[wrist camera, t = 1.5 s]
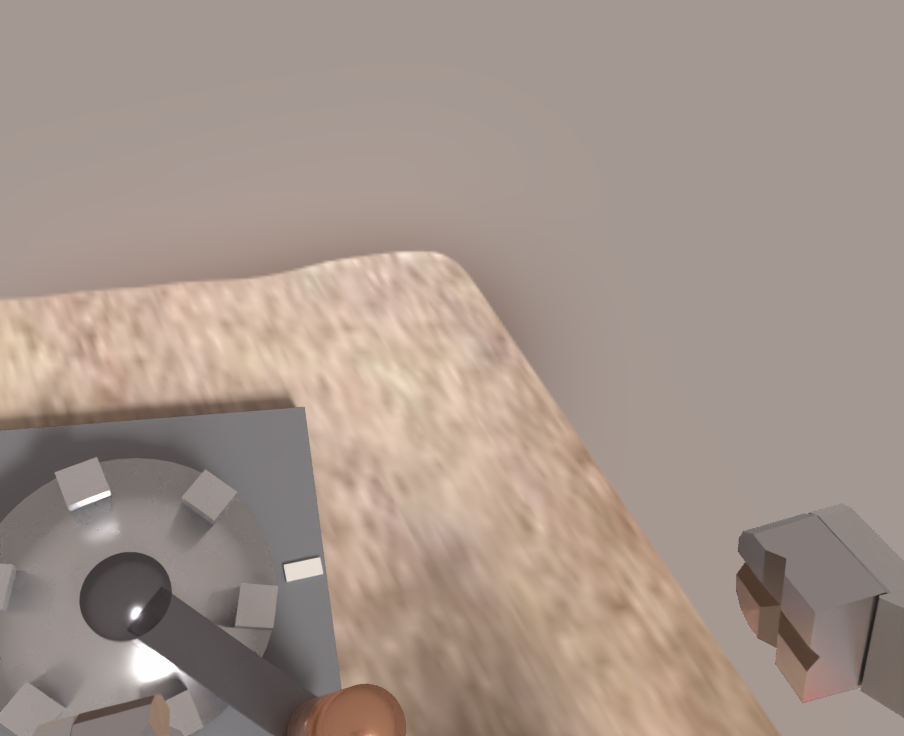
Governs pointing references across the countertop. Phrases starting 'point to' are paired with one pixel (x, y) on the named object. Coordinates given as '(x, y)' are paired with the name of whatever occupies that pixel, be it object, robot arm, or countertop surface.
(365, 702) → the crank turntable
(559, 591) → the countertop surface
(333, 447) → the countertop surface
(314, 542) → the base plate
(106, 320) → the countertop surface
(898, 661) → the robot arm
